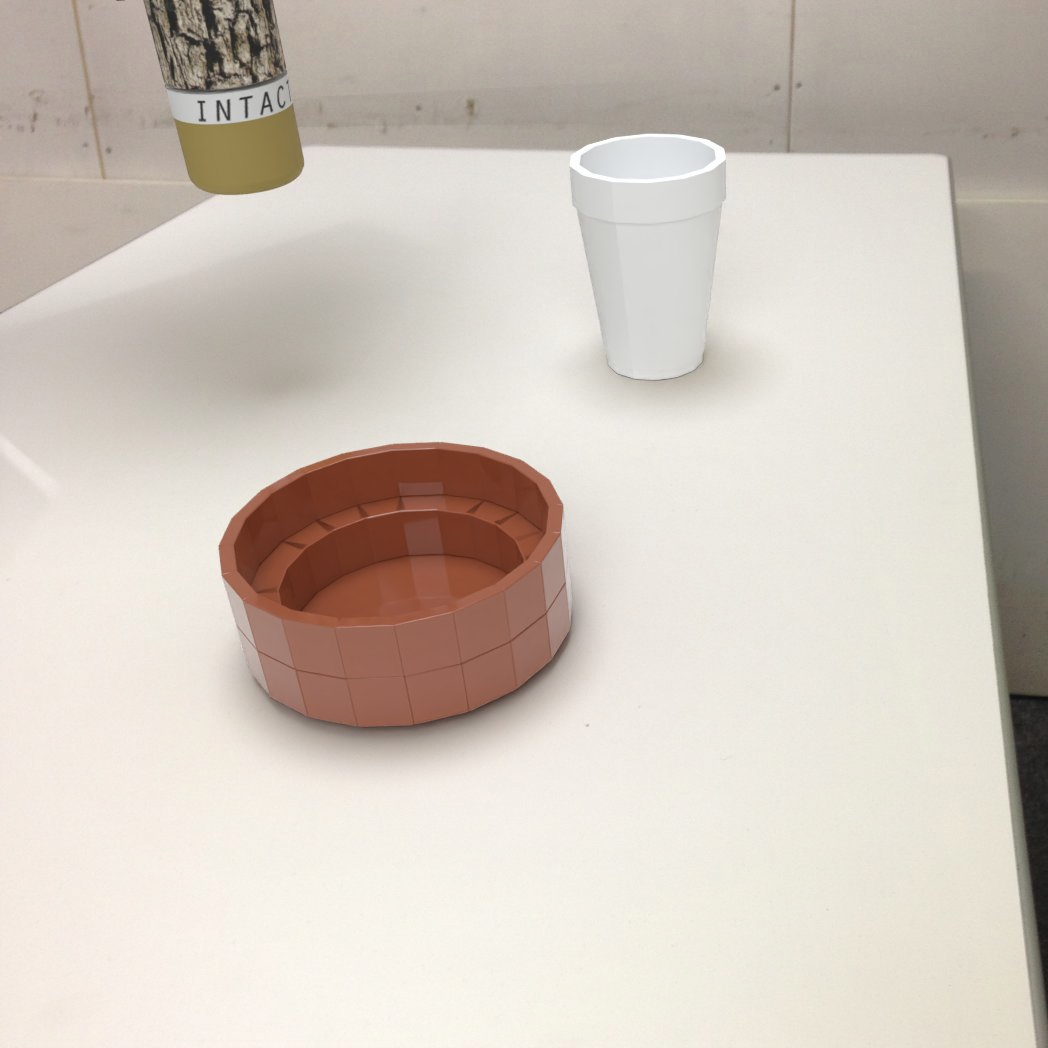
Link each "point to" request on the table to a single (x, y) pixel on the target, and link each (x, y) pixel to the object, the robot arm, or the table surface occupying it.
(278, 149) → the paper tube
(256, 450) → the table surface
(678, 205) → the foam cup
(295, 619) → the bowl
